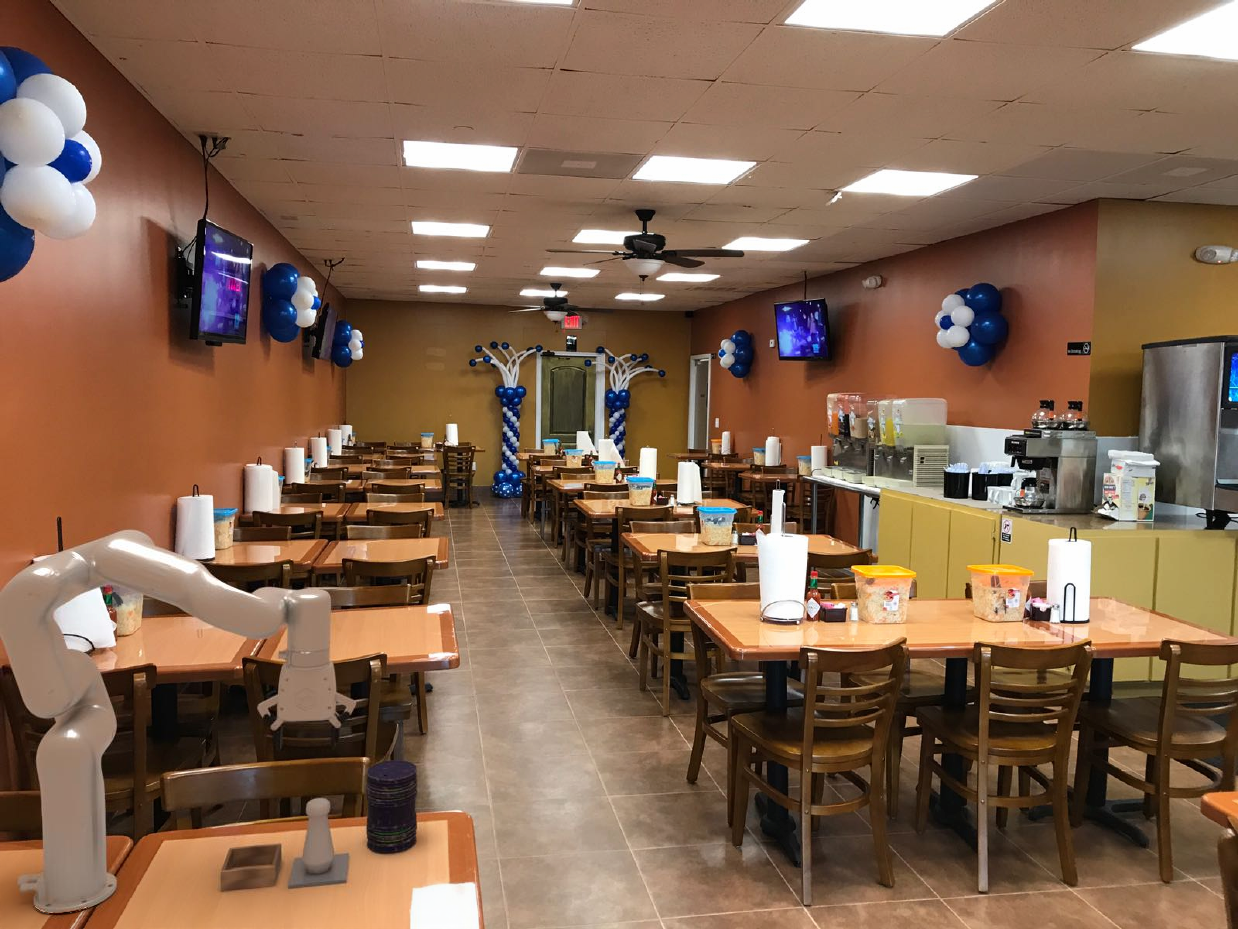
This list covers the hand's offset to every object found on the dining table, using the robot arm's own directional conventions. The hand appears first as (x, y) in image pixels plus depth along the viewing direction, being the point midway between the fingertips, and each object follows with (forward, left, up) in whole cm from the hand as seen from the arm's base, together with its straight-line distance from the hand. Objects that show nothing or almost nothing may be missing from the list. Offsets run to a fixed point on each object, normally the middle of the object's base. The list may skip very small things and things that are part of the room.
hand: (306, 747), depth 170 cm
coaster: (+2, -1, -24) cm, 24 cm away
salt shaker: (+2, -1, -23) cm, 23 cm away
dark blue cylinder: (+15, +8, -24) cm, 29 cm away
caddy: (-10, 0, -24) cm, 25 cm away
